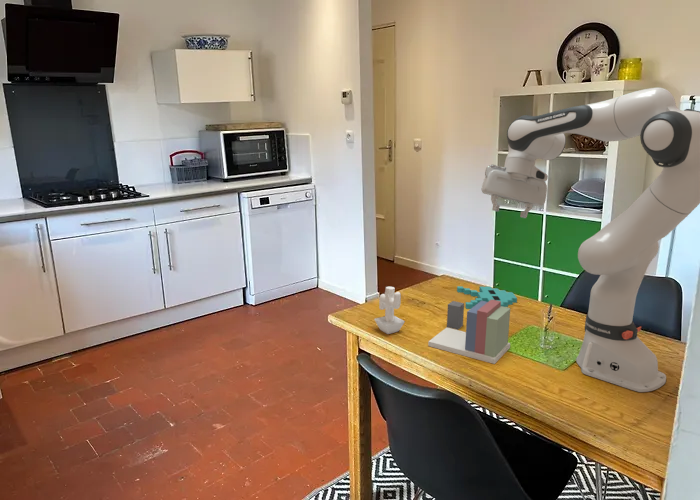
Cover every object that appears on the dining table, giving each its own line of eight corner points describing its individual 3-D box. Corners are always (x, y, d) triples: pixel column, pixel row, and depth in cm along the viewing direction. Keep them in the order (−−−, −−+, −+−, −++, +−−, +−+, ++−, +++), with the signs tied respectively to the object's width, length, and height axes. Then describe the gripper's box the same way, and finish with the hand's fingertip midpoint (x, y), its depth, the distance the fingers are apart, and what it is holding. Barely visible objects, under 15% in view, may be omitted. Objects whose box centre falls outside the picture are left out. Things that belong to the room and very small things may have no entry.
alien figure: (466, 310, 192) (521, 310, 192) (466, 304, 192) (522, 304, 192) (456, 291, 212) (507, 291, 211) (457, 286, 211) (507, 286, 211)
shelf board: (510, 347, 161) (513, 302, 157) (494, 364, 151) (498, 316, 147) (446, 331, 173) (448, 289, 169) (428, 345, 163) (429, 301, 159)
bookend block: (462, 325, 178) (464, 303, 175) (457, 329, 174) (459, 306, 172) (451, 323, 180) (452, 300, 178) (446, 326, 177) (447, 304, 175)
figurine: (389, 323, 180) (390, 281, 176) (406, 333, 172) (408, 289, 168) (372, 328, 176) (372, 285, 172) (388, 338, 168) (389, 293, 164)
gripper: (491, 161, 160) (482, 206, 160) (552, 176, 164) (544, 220, 163) (483, 164, 167) (474, 207, 166) (542, 179, 170) (533, 221, 170)
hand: (509, 214), depth 165 cm, fingers open, 8 cm apart
